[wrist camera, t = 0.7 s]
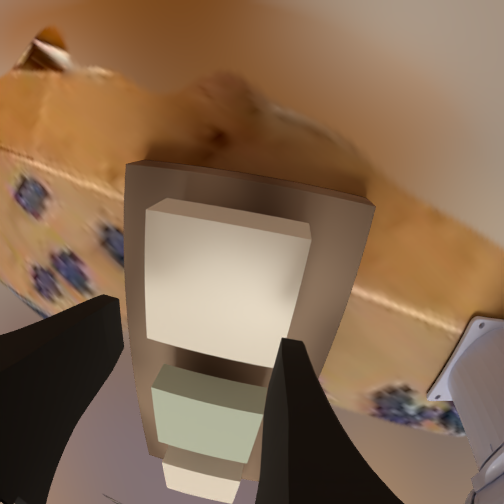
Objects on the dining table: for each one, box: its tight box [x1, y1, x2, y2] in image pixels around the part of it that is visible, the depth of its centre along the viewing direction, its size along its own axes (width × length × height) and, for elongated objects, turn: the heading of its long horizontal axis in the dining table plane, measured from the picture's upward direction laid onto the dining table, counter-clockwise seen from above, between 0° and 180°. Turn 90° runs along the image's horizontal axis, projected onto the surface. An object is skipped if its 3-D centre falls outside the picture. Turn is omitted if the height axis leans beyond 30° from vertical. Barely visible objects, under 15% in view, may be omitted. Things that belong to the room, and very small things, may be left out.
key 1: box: [145, 198, 312, 368], centre depth 12 cm, size 6×6×2 cm
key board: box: [124, 160, 376, 481], centre depth 19 cm, size 12×27×2 cm, turn 172°
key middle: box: [151, 364, 267, 463], centre depth 16 cm, size 6×6×2 cm
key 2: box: [162, 445, 244, 504], centre depth 20 cm, size 6×6×2 cm
